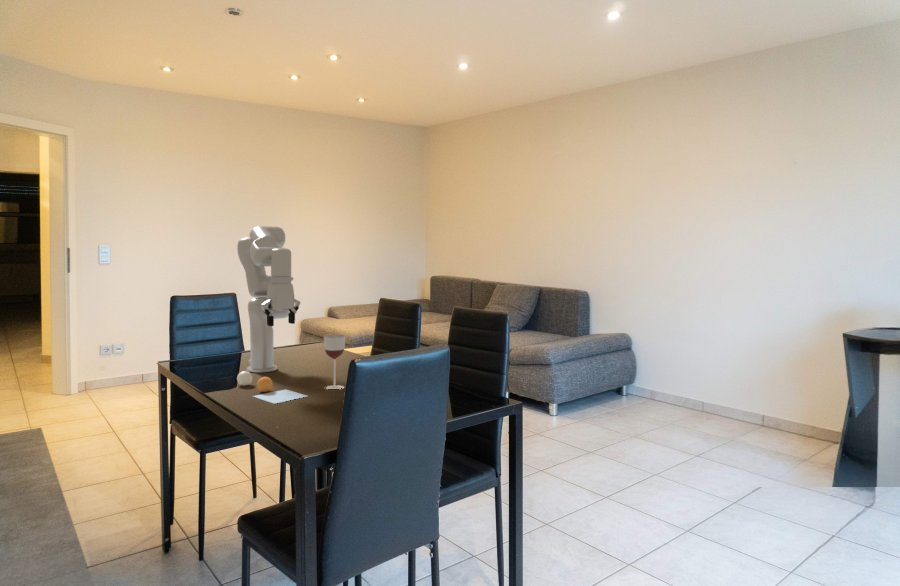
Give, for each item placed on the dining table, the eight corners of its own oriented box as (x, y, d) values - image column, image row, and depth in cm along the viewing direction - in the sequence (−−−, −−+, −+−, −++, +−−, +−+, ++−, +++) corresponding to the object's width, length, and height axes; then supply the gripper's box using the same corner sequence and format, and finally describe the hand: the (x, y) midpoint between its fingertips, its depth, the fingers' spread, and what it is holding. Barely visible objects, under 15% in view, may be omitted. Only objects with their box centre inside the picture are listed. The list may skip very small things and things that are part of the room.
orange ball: (254, 391, 214) (253, 376, 214) (267, 389, 218) (267, 374, 218) (262, 394, 211) (262, 379, 210) (275, 391, 215) (275, 376, 214)
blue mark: (252, 396, 207) (252, 396, 207) (285, 389, 218) (285, 389, 218) (274, 404, 198) (274, 403, 198) (308, 396, 209) (308, 396, 209)
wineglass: (349, 386, 226) (349, 335, 224) (337, 391, 218) (338, 338, 216) (331, 384, 228) (331, 333, 227) (319, 389, 220) (319, 337, 219)
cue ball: (234, 385, 223) (234, 371, 223) (247, 383, 227) (247, 369, 227) (241, 387, 220) (241, 373, 219) (255, 385, 224) (255, 371, 223)
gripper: (293, 279, 232) (293, 321, 233) (255, 280, 218) (255, 325, 220) (305, 280, 227) (305, 323, 229) (267, 282, 214) (267, 328, 215)
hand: (281, 324), depth 224 cm, fingers open, 9 cm apart
